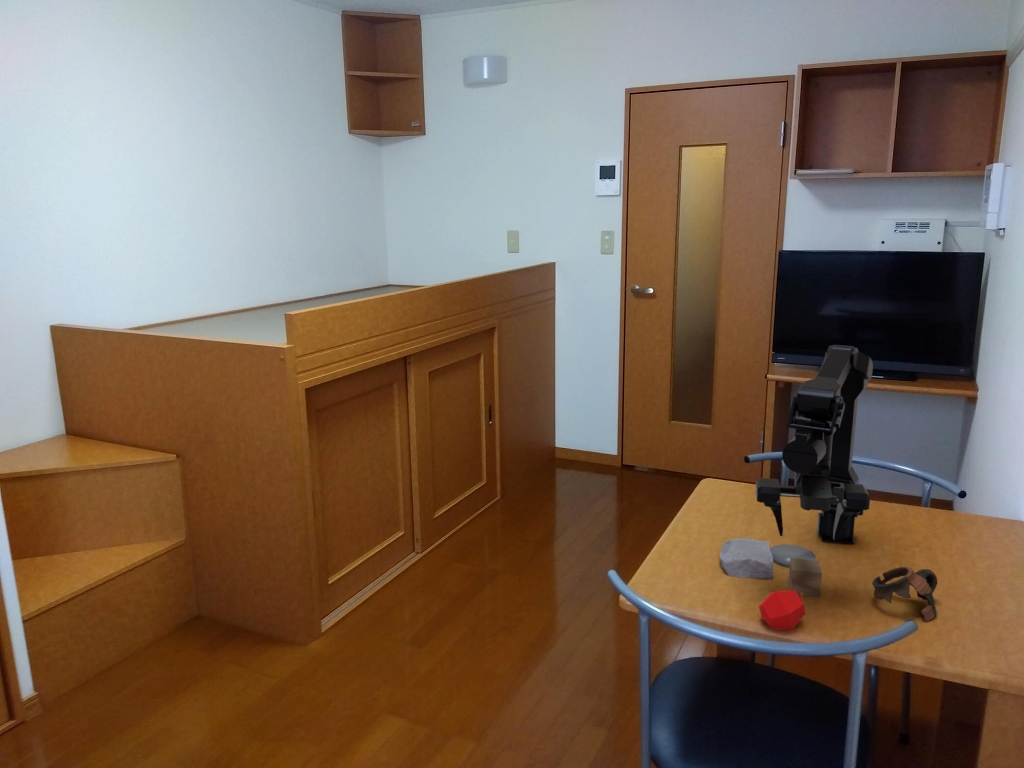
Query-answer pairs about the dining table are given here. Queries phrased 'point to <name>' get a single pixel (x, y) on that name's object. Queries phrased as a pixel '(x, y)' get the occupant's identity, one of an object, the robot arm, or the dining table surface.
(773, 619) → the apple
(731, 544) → the stone block
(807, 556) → the slate coaster
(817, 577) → the walnut cube
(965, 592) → the dining table surface
